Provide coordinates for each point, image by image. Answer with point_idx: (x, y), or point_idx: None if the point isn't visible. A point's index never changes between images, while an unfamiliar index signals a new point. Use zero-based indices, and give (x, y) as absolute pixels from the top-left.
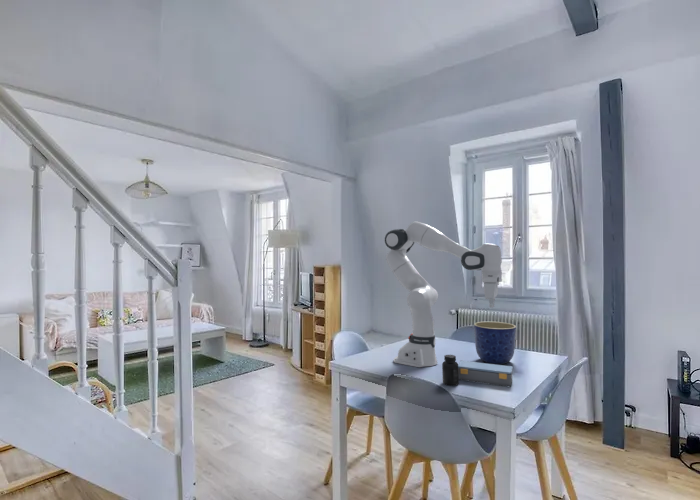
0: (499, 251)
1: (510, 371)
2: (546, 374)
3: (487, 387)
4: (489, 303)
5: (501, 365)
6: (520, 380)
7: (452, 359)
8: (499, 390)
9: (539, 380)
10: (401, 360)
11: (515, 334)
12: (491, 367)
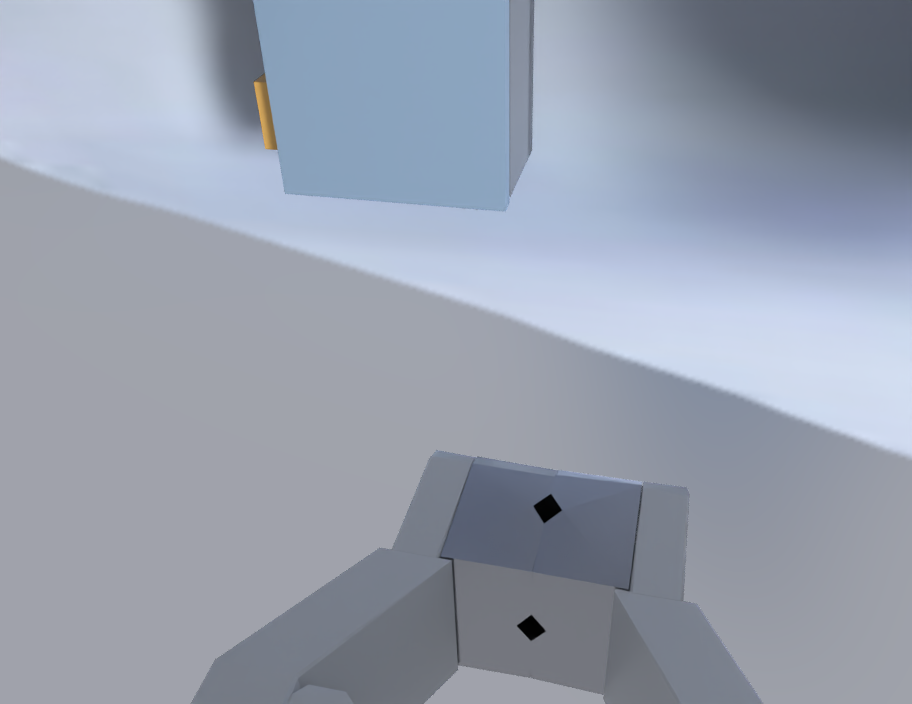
0: None
1: (317, 188)
2: (814, 418)
3: None
4: (371, 553)
5: (493, 104)
6: (549, 215)
7: None
8: (202, 51)
9: (611, 348)
10: None
11: None
12: (356, 1)
